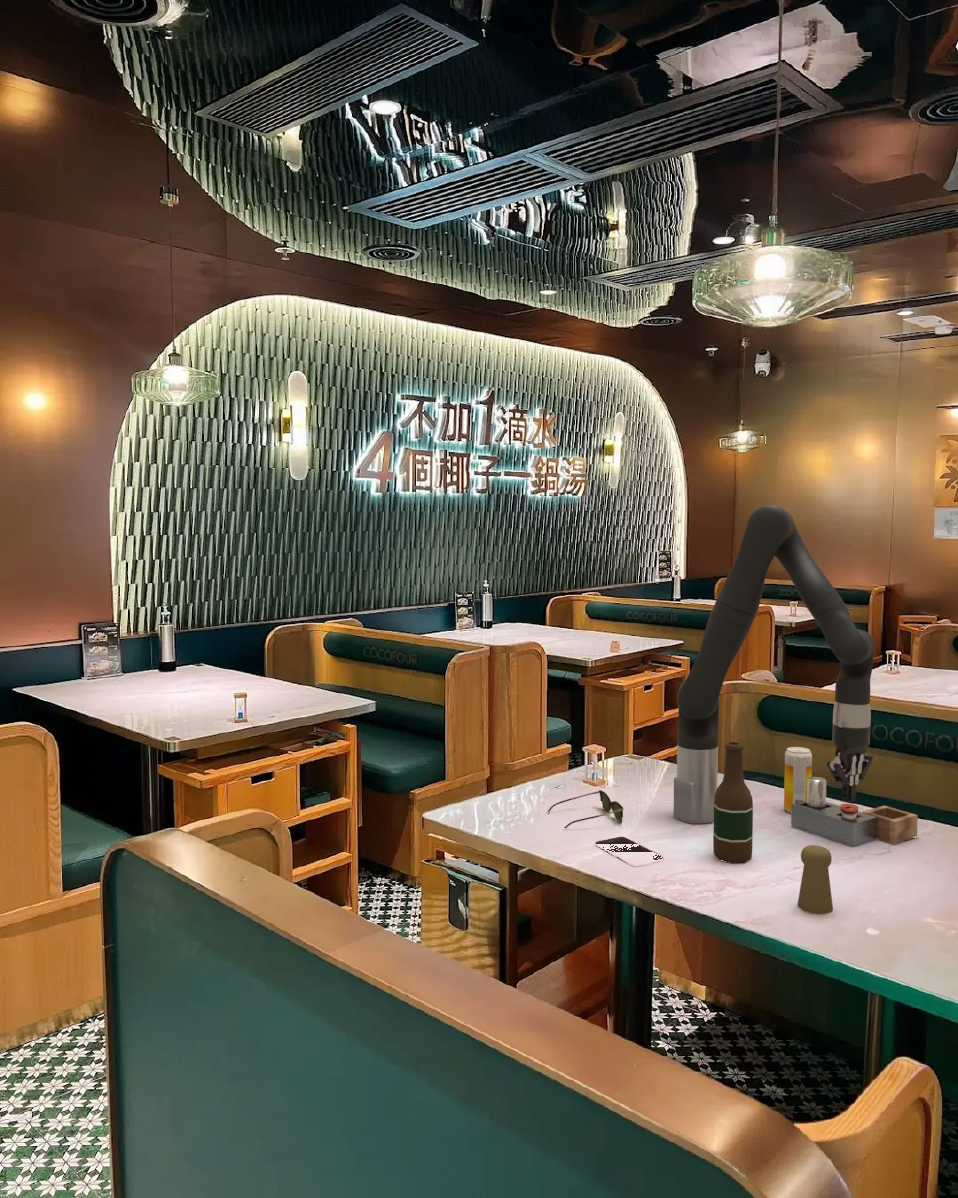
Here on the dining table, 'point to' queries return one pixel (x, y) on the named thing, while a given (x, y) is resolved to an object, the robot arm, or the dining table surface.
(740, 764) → the beer bottle
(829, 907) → the olive knobbed peg
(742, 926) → the dining table surface
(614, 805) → the sunglasses
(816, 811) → the socket block
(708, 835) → the dining table surface
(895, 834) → the wooden hollow square frame
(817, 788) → the gray round-topped cylinder
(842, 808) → the copper-capped cylinder
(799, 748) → the beer can
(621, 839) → the cell phone
